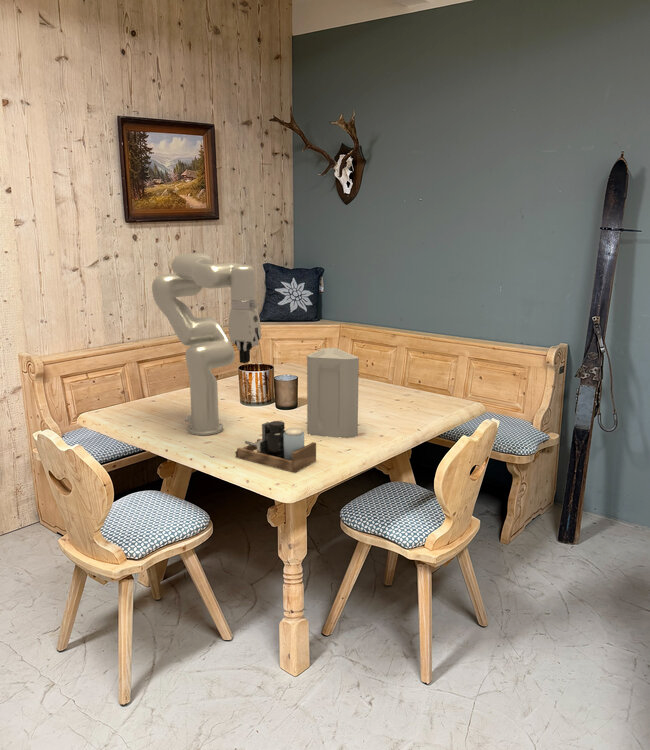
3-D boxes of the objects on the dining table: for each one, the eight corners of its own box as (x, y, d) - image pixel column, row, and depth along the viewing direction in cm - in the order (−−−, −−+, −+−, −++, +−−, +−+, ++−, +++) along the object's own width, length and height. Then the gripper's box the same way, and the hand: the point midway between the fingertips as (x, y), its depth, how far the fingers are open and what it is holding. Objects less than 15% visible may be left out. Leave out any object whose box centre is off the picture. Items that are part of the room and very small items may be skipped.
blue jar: (279, 464, 205) (279, 431, 203) (291, 458, 211) (291, 425, 208) (296, 469, 202) (296, 435, 199) (308, 462, 207) (308, 429, 205)
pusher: (237, 454, 213) (236, 422, 210) (254, 447, 220) (253, 415, 217) (260, 460, 208) (259, 427, 205) (276, 452, 215) (275, 420, 212)
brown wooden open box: (235, 457, 212) (235, 439, 210) (258, 446, 221) (257, 429, 219) (295, 472, 199) (294, 453, 198) (316, 460, 209) (316, 442, 207)
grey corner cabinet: (297, 426, 242) (297, 351, 235) (334, 420, 248) (334, 347, 241) (319, 442, 225) (320, 361, 218) (358, 436, 231) (359, 357, 225)
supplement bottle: (288, 455, 213) (288, 419, 210) (288, 463, 207) (288, 426, 204) (266, 455, 213) (266, 419, 210) (266, 463, 206) (265, 426, 203)
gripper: (269, 305, 208) (270, 363, 212) (232, 302, 215) (234, 357, 220) (254, 308, 201) (255, 367, 206) (217, 304, 209) (219, 361, 214)
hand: (244, 362), depth 213 cm, fingers closed
